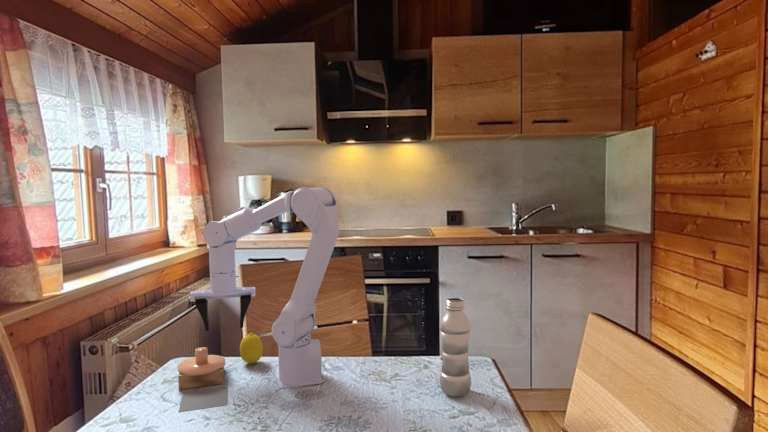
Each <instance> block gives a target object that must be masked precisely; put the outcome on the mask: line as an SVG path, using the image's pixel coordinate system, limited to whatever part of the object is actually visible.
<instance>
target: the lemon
mask: <svg viewBox="0 0 768 432" xmlns="http://www.w3.org/2000/svg"><path fill="white" fill-rule="evenodd" d="M262 340H263V339H261V337H260V336H259V335H257V334H254V333H253V332H249V334H246V335H245V336H244V337H243V338H242V340H241V341H240V343H239V344H240V345H239V354H240V357H241V359H242V360H243V362H244V363H247V364H249V365H253V364H255V363H257V362H258V361H259V360H260V359H261V358H262V356H263V353H264V344H263V342H262Z"/></svg>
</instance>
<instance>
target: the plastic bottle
mask: <svg viewBox="0 0 768 432" xmlns="http://www.w3.org/2000/svg"><path fill="white" fill-rule="evenodd" d="M445 309H446V312H445V314H444V315H443V316H442V317H441V320H440V322H439V331H440V339H441V348H442V358H441V359H442V361H441V363H442V364H441V371H440V377H439V385H440V389H441V391H442V392H443V393H444V394H445V395H447V396H449V397H455V398H456V397H459V398H461V397H464V396H466V395H467V394H469V392H470V390H471V386H472V378H471V371H470V364H469V346H470V345H469V342H470V337H471V336H470V335H471V327H472V325H471V321H470V319H469V317H468V316H467V315H466V313H465V312H464V310H465V299H463V298H462V297H461V298H460V297H449V298H447V299H446V305H445Z"/></svg>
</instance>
